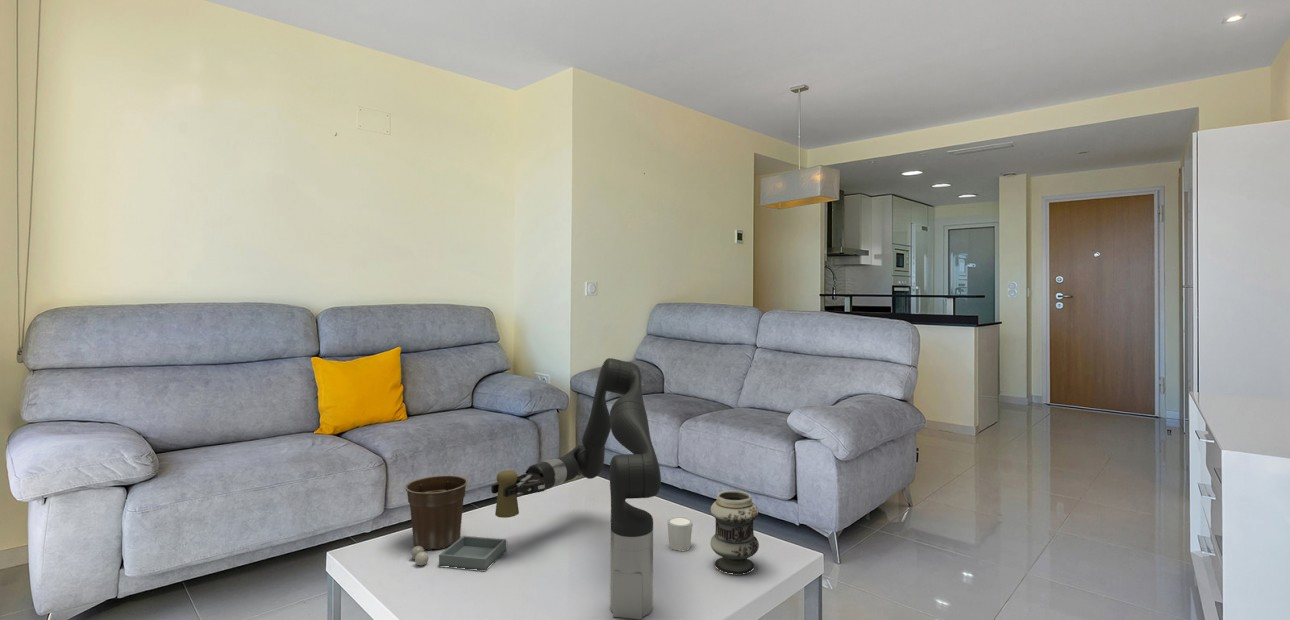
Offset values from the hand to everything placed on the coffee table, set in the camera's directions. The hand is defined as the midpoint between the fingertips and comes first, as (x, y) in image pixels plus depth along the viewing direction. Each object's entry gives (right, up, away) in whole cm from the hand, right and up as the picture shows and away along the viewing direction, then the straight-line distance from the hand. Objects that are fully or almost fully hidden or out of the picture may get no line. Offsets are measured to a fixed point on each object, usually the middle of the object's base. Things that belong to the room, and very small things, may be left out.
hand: (498, 491), depth 152 cm
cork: (+2, -7, +2) cm, 7 cm away
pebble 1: (-21, -18, +1) cm, 27 cm away
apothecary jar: (+60, -18, -2) cm, 63 cm away
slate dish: (-7, -18, +1) cm, 19 cm away
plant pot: (-20, -18, +12) cm, 29 cm away
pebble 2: (-19, -18, -3) cm, 26 cm away
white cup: (+47, -18, +9) cm, 51 cm away
